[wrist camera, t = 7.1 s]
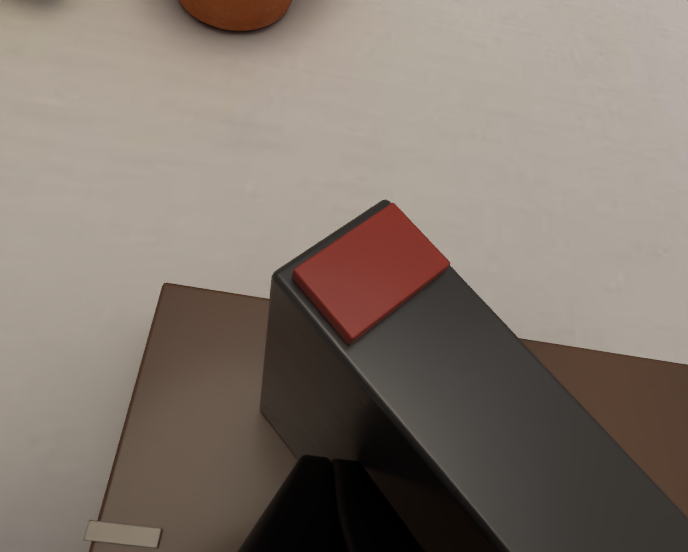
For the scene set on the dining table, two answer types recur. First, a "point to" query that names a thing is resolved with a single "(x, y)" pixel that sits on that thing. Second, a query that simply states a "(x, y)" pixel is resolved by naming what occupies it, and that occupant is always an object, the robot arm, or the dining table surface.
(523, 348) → the pointer
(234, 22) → the toy tea set
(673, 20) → the dining table surface
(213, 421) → the dial panel
